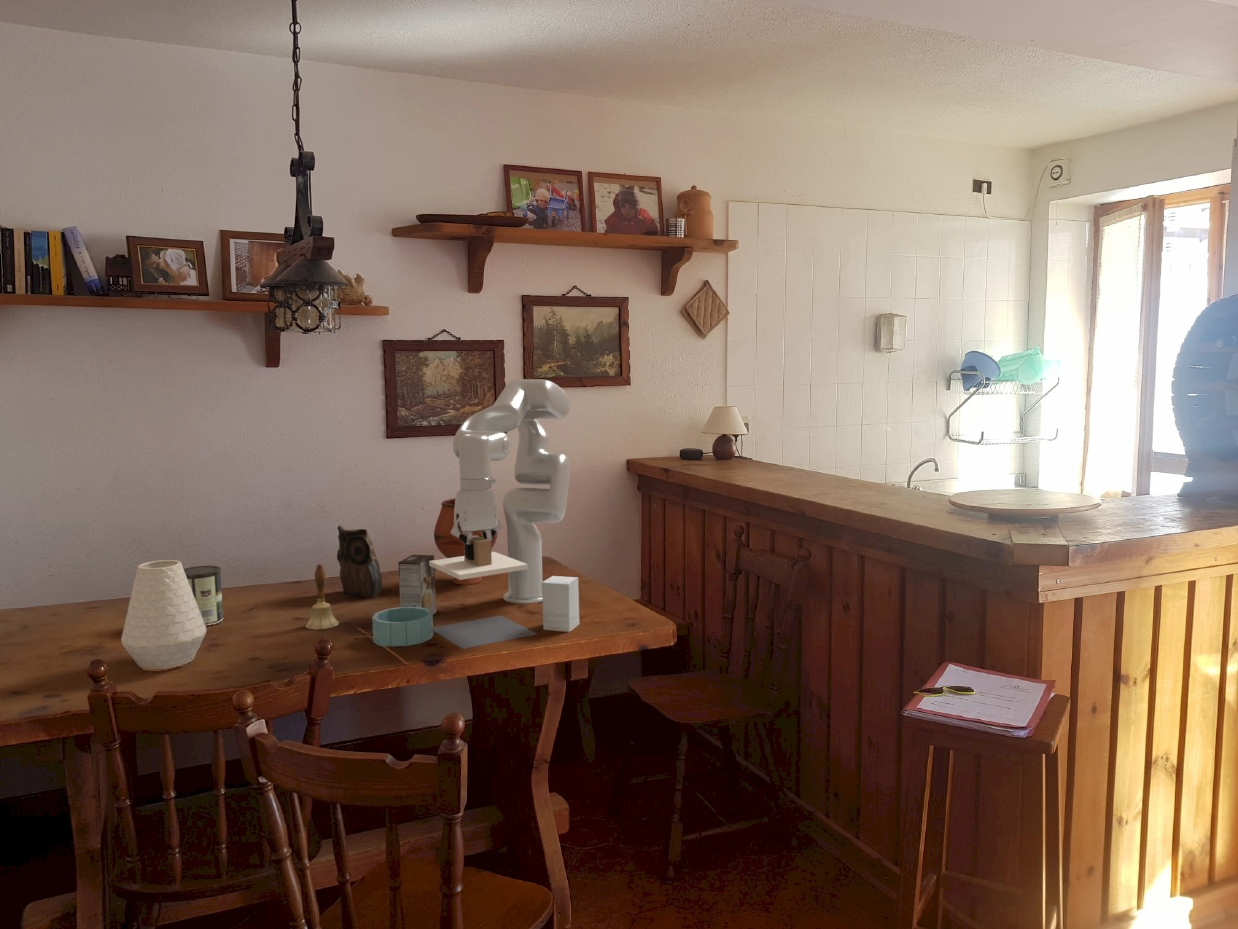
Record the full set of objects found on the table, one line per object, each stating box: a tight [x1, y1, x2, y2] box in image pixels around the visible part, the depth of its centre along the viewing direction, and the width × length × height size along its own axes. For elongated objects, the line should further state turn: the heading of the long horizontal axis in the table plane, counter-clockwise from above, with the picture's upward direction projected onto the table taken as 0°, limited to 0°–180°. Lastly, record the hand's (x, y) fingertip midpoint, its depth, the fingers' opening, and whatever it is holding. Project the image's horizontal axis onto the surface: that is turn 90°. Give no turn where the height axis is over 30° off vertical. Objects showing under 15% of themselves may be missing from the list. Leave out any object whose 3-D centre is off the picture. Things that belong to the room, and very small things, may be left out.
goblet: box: [433, 497, 499, 586], centre depth 285 cm, size 19×19×25 cm
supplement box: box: [542, 575, 580, 633], centre depth 238 cm, size 7×7×13 cm
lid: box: [429, 535, 528, 580], centre depth 232 cm, size 18×18×7 cm
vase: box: [120, 559, 208, 669], centre depth 213 cm, size 18×17×23 cm
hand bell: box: [305, 563, 340, 631], centre depth 242 cm, size 8×8×16 cm
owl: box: [336, 524, 383, 599], centre depth 272 cm, size 13×13×20 cm
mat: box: [433, 615, 538, 650], centre depth 235 cm, size 20×20×1 cm
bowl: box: [371, 606, 434, 648], centre depth 231 cm, size 14×14×6 cm
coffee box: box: [397, 554, 437, 615], centre depth 248 cm, size 9×6×16 cm
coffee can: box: [183, 565, 225, 626], centre depth 245 cm, size 10×10×14 cm
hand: (477, 557), depth 233 cm, fingers closed on lid, 3 cm apart
